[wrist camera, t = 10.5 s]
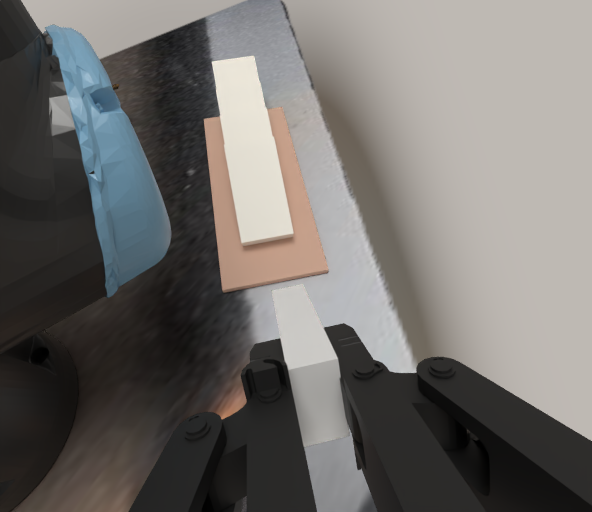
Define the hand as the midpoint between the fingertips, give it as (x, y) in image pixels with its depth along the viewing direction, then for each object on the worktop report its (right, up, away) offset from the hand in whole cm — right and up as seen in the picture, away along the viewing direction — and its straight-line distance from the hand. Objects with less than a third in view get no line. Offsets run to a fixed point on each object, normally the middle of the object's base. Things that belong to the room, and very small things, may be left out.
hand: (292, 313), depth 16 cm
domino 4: (-3, +4, +17) cm, 18 cm away
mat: (-4, +10, +22) cm, 25 cm away
